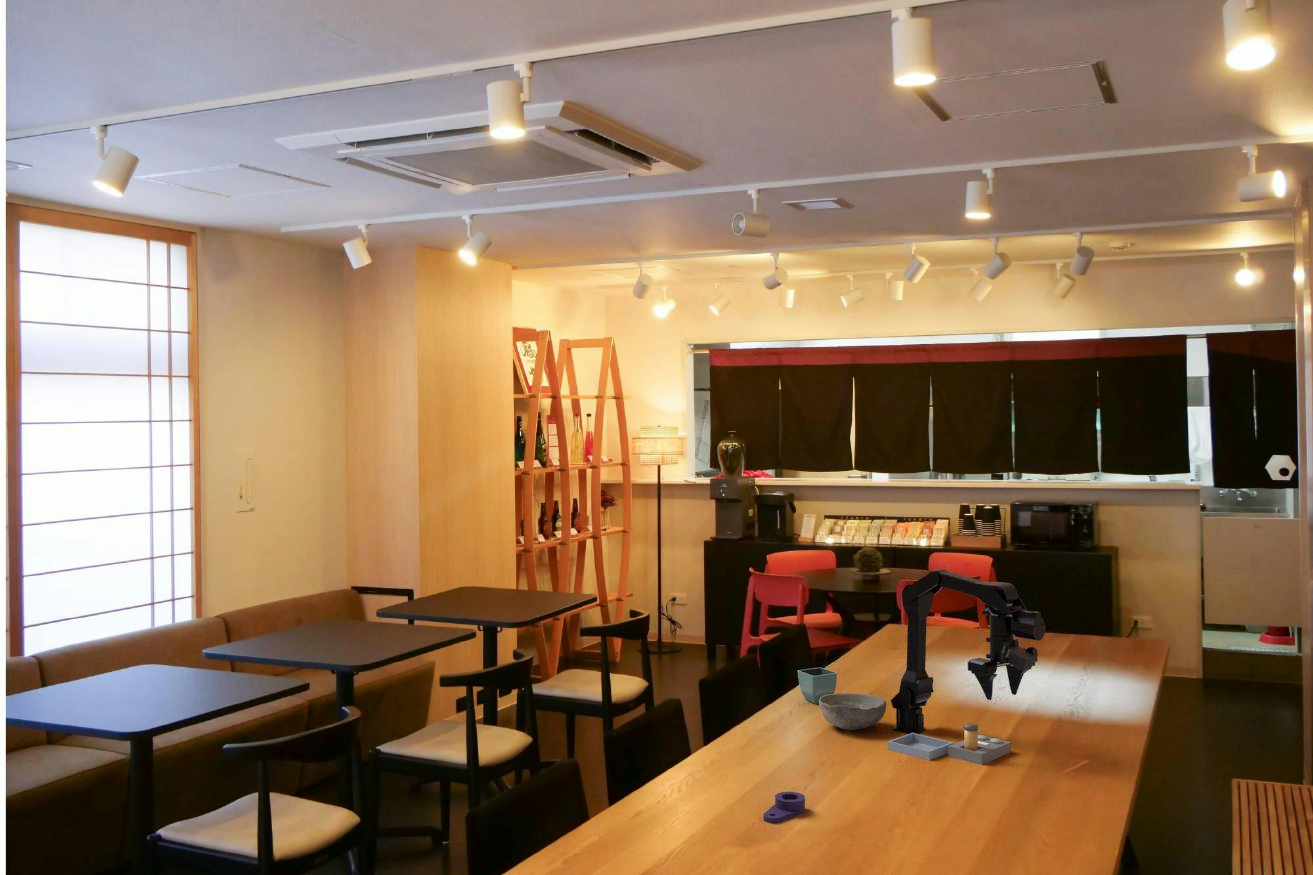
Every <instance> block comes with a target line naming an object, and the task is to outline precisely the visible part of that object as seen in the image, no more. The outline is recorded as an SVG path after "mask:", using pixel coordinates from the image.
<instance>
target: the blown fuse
mask: <svg viewBox="0 0 1313 875" xmlns="http://www.w3.org/2000/svg"><path fill="white" fill-rule="evenodd" d="M963 733H964V734H963V738H964V739H963V740H964V749H967V750H971V751H976V750H978V735H979V724H977V723H972V722H965V723H964V724H963Z"/></svg>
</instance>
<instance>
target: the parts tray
mask: <svg viewBox="0 0 1313 875" xmlns="http://www.w3.org/2000/svg"><path fill="white" fill-rule="evenodd" d="M952 744H955V743H954V742H952V741H949V740H944V739H941V738H936V737H932V736H928V735H923V734H919V733H907V734H905V735H903V736H902V735H901V736H899V737H897V738H894V739H891V740H888V741H887V750H888V751H893V752H895V753H899V754H903V755H908V756H911V757H914V758H919V759H923V760H926V761H932V760H934V759H937V758H940V757H942V756H945V755H946V754H947V755H948V746H950V745H952Z"/></svg>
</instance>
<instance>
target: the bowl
mask: <svg viewBox="0 0 1313 875" xmlns="http://www.w3.org/2000/svg"><path fill="white" fill-rule="evenodd" d="M818 707H819V708H820V710H821V714H822V716H823V718H824V719H825V721H827V722H828V723H830V724H832V725H833V726H835V727H836V728H838V729H842V730H846V731H856V730H862V729H866V728H869V727H870V726H873V725H876V724H877V723H879V722H880V721H881V720H882V718H884V716H885V714H886V710H887V702H886V700H885V699H884V698H882V697H881V696H877V695H873V694H863V693H853V692H852V693H850V692H849V693H848V692H846V693H845V692H844V693H842V692H841V693H840V692H839V693H838V692H837V693H834V694H828V695H825V696H822V697H820V699H819V703H818Z"/></svg>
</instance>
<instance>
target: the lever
mask: <svg viewBox="0 0 1313 875" xmlns="http://www.w3.org/2000/svg"><path fill="white" fill-rule="evenodd" d="M805 812H806V797H805V795H804V794H802V793H800V792H795V791H781V792H778V793H776V794H775V796H774V805H772V806H771V807H770V808H769V809H768V810H766V811H765V812H764V813H763V814H762V818H763V822H766V823H769V824H779V823H781V822H784V821H787V820H790V819H793V818H795V817H798V816H799V815H800V816H801V815H803V814H804V813H805Z"/></svg>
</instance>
